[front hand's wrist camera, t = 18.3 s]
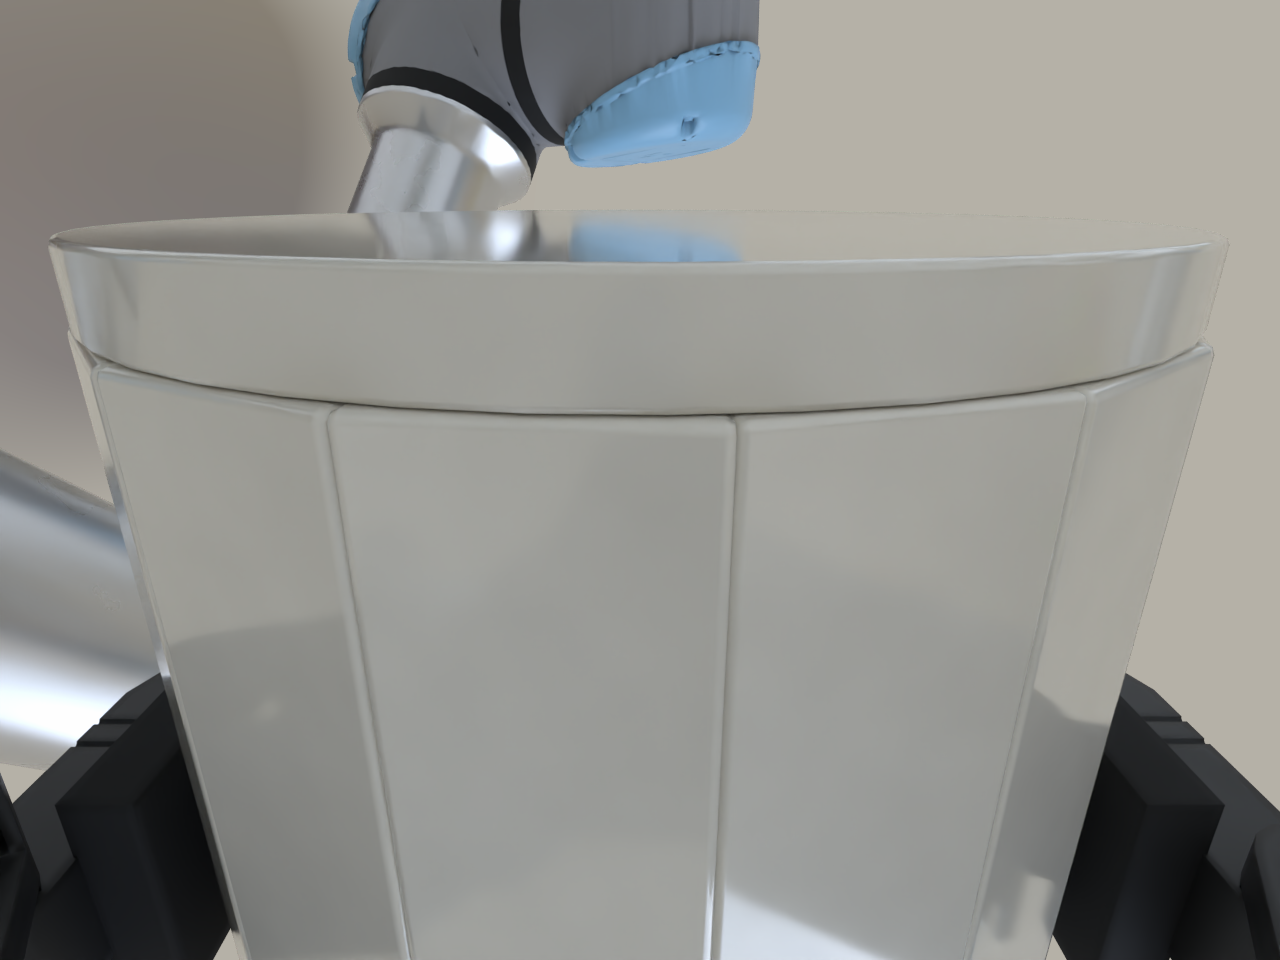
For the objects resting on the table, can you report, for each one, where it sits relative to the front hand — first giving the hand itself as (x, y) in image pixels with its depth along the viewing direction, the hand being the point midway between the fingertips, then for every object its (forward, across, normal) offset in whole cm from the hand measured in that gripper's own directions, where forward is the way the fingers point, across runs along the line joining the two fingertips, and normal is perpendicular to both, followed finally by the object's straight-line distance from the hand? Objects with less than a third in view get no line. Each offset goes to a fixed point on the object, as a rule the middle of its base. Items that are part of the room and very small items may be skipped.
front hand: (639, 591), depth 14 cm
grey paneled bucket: (-4, 0, -7) cm, 8 cm away
